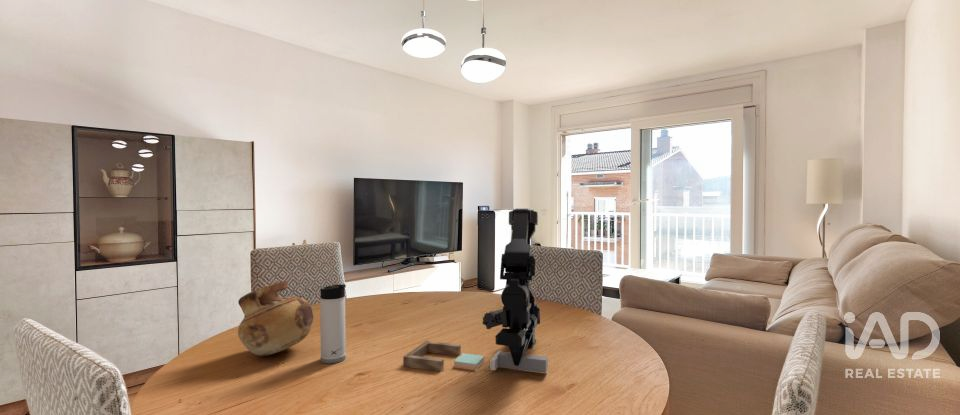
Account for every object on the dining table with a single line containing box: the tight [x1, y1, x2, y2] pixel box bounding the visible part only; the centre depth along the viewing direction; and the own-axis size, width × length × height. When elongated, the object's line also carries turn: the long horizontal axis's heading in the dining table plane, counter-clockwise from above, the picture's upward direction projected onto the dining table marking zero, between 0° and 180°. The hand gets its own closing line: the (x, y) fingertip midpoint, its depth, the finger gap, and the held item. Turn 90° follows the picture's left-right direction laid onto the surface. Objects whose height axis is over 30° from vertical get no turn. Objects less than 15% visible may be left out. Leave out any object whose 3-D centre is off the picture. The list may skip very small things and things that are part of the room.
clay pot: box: [237, 280, 314, 357], centre depth 118 cm, size 19×19×20 cm
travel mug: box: [319, 283, 347, 365], centre depth 114 cm, size 6×7×20 cm
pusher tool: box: [489, 350, 549, 374], centre depth 105 cm, size 13×7×3 cm, turn 71°
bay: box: [402, 340, 462, 372], centre depth 113 cm, size 10×13×2 cm
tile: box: [453, 352, 485, 371], centre depth 110 cm, size 6×6×2 cm
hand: (517, 363), depth 106 cm, fingers closed on pusher tool, 2 cm apart
